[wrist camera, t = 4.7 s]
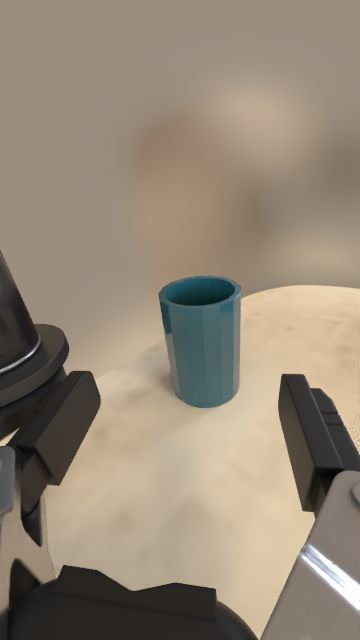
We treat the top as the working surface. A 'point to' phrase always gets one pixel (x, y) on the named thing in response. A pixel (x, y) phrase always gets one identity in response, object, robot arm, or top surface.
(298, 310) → the top surface
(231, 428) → the top surface
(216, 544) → the top surface
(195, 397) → the cup
